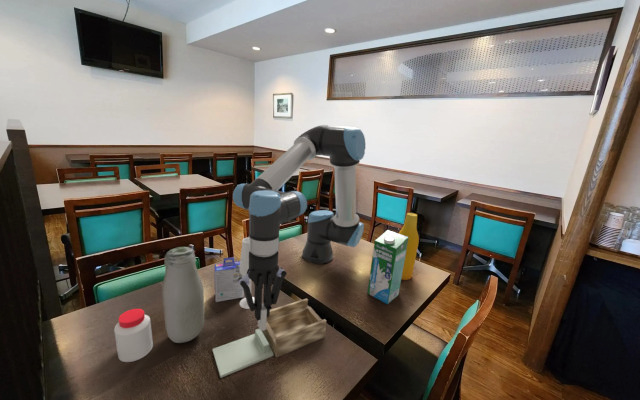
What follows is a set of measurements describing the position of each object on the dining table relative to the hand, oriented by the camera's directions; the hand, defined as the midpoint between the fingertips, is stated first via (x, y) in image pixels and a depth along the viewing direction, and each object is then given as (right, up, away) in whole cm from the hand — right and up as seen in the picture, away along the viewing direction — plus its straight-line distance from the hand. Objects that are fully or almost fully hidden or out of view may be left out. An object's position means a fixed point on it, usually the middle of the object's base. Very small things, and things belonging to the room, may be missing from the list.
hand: (261, 327), depth 75 cm
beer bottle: (+54, +1, +46) cm, 71 cm away
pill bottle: (-33, -5, -3) cm, 34 cm away
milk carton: (+41, -2, +31) cm, 51 cm away
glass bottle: (-23, -4, +3) cm, 23 cm away
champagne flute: (-9, -1, +19) cm, 21 cm away
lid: (-5, -7, -1) cm, 9 cm away
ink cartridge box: (-17, +1, +22) cm, 28 cm away
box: (+8, -5, +7) cm, 12 cm away
